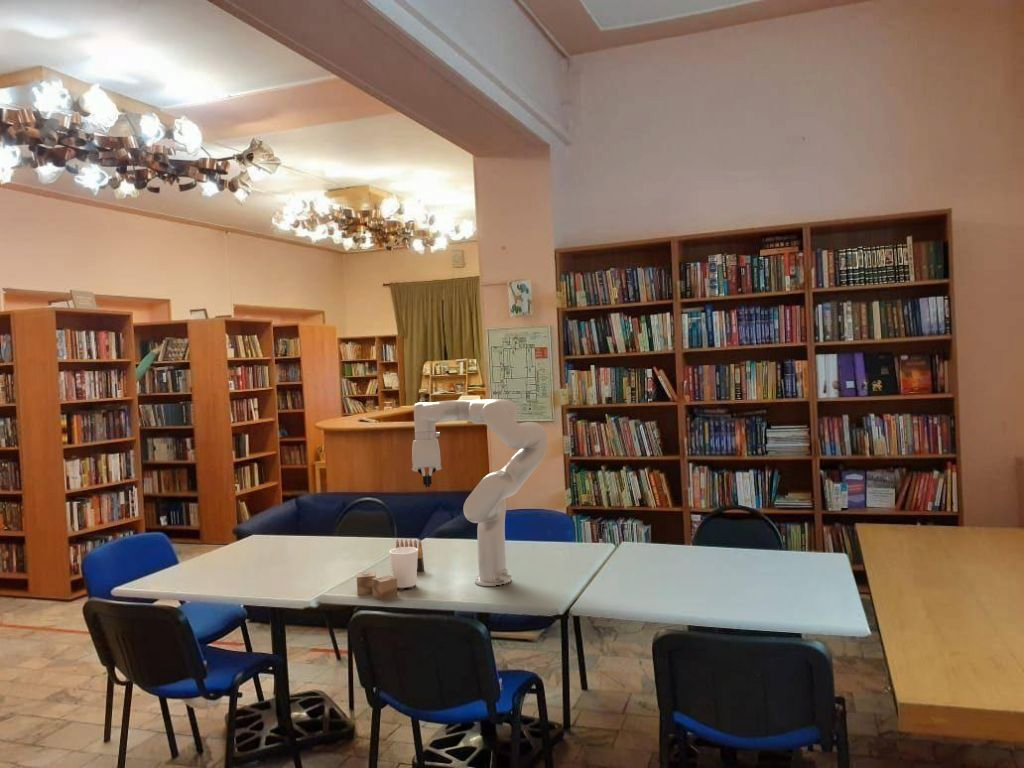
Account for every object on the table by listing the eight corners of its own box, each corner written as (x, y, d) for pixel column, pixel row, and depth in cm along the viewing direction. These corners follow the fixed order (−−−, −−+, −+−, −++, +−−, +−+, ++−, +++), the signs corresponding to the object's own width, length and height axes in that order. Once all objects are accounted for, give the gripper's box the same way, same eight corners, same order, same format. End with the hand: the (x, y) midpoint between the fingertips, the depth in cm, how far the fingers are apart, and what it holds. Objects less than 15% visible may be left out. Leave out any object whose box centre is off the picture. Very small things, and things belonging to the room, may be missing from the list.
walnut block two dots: (397, 596, 246) (396, 577, 245) (381, 600, 242) (380, 581, 242) (388, 592, 250) (388, 574, 250) (372, 596, 247) (372, 577, 246)
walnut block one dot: (376, 588, 255) (375, 570, 255) (375, 593, 249) (374, 575, 249) (358, 590, 254) (357, 572, 254) (357, 595, 248) (356, 576, 248)
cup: (424, 583, 259) (422, 547, 259) (412, 591, 249) (411, 554, 249) (397, 582, 261) (396, 546, 261) (385, 590, 252) (384, 553, 252)
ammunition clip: (395, 571, 276) (394, 539, 276) (397, 570, 278) (395, 538, 278) (422, 572, 274) (421, 539, 274) (424, 570, 276) (422, 538, 276)
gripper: (445, 434, 274) (447, 483, 275) (404, 436, 272) (406, 486, 272) (446, 436, 267) (448, 486, 267) (404, 438, 265) (406, 489, 265)
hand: (427, 486), depth 270 cm, fingers closed
